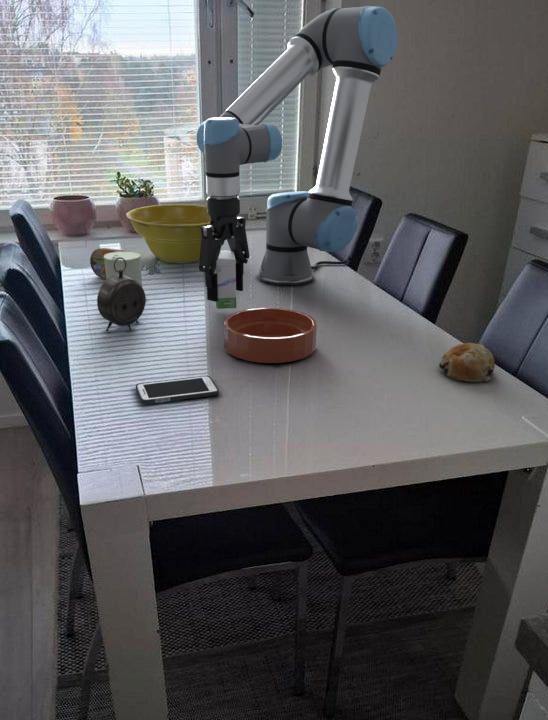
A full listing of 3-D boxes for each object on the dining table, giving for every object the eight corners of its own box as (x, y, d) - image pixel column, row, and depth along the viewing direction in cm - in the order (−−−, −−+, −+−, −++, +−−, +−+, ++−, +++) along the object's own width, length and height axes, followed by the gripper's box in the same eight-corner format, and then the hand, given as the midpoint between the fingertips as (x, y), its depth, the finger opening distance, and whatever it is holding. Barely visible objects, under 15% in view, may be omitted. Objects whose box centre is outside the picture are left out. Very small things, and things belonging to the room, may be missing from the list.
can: (100, 303, 171) (95, 255, 164) (122, 293, 177) (118, 247, 171) (130, 308, 167) (125, 259, 161) (151, 298, 174) (147, 251, 167)
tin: (91, 277, 191) (87, 247, 186) (97, 274, 193) (93, 244, 189) (136, 283, 186) (134, 252, 181) (142, 280, 188) (140, 249, 184)
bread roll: (470, 402, 130) (496, 372, 125) (428, 371, 132) (451, 340, 127) (484, 385, 138) (509, 355, 132) (444, 355, 139) (467, 325, 134)
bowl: (259, 327, 156) (259, 302, 153) (331, 346, 146) (333, 319, 143) (206, 352, 143) (205, 325, 139) (281, 374, 133) (282, 345, 129)
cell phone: (220, 395, 124) (220, 390, 123) (141, 405, 120) (141, 400, 119) (209, 379, 130) (209, 374, 129) (135, 388, 126) (134, 383, 126)
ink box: (237, 308, 159) (236, 258, 152) (216, 309, 158) (214, 259, 152) (234, 297, 166) (233, 249, 160) (214, 298, 166) (213, 249, 159)
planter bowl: (251, 254, 214) (251, 210, 207) (191, 277, 191) (190, 228, 184) (172, 241, 229) (170, 200, 221) (108, 261, 206) (103, 215, 198)
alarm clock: (137, 320, 159) (131, 251, 151) (151, 326, 156) (146, 255, 147) (99, 331, 153) (90, 259, 144) (112, 337, 150) (105, 264, 141)
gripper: (239, 187, 158) (240, 281, 170) (178, 202, 143) (184, 304, 156) (264, 190, 154) (264, 286, 167) (204, 205, 140) (208, 310, 152)
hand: (225, 295), depth 161 cm, fingers closed on ink box, 9 cm apart
